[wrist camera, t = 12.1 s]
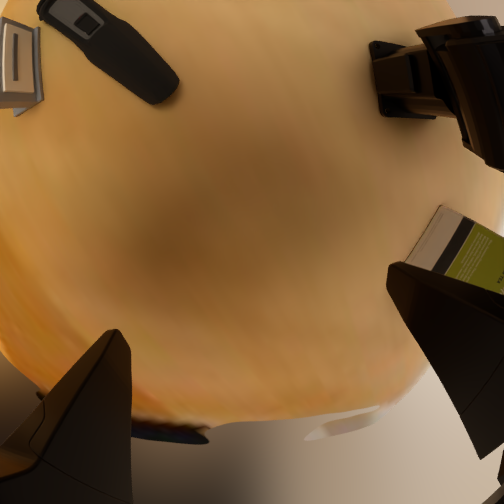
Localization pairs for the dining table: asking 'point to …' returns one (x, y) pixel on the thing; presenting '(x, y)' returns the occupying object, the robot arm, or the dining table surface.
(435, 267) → the tea box
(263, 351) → the dining table surface
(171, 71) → the electric trimmer
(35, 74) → the gray angled bracket
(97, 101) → the dining table surface
